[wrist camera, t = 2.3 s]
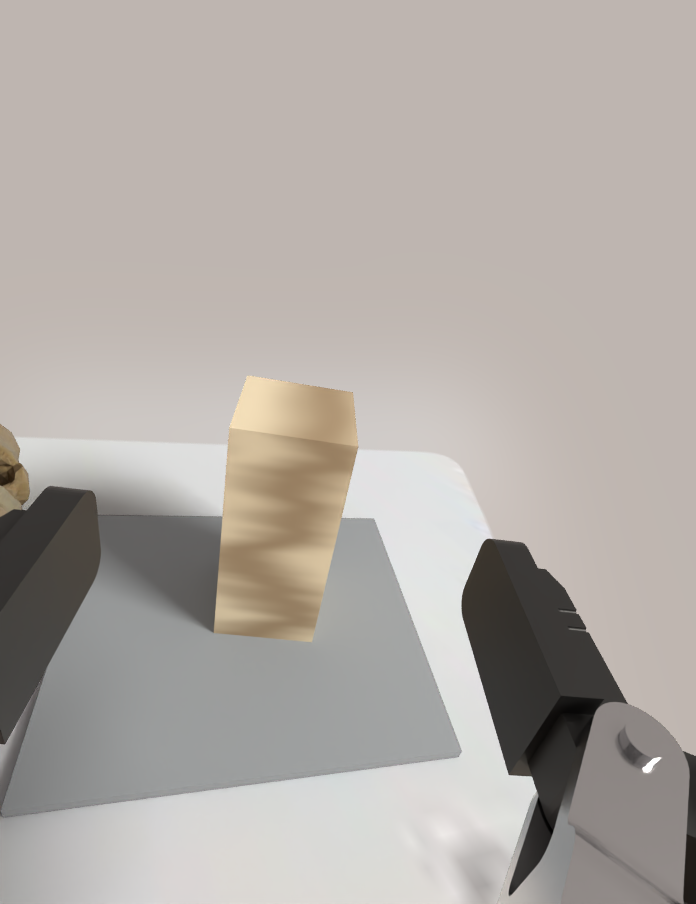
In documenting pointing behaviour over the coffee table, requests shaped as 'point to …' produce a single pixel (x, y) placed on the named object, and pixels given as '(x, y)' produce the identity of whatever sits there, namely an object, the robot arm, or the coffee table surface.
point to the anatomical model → (11, 474)
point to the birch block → (282, 506)
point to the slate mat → (222, 678)
